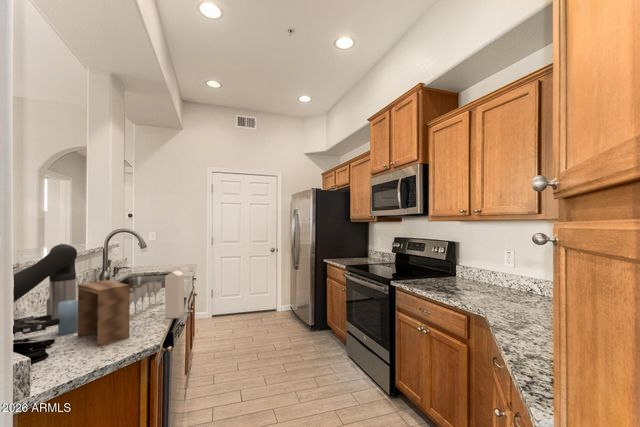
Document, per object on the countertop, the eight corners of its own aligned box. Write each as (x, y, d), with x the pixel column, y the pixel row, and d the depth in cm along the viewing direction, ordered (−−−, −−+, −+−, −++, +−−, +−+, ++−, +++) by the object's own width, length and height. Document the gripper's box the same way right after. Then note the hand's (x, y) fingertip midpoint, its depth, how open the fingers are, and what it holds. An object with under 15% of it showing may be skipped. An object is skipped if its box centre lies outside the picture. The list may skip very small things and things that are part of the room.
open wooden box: (98, 346, 105) (98, 290, 105) (77, 336, 115) (78, 284, 115) (129, 337, 113) (129, 284, 113) (107, 328, 123) (107, 280, 123)
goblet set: (130, 321, 132) (130, 290, 132) (117, 321, 132) (117, 290, 132) (163, 303, 160) (163, 278, 160) (152, 303, 160) (153, 278, 160)
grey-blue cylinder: (54, 336, 115) (55, 304, 115) (62, 330, 121) (63, 300, 121) (73, 334, 117) (74, 302, 117) (80, 328, 122) (80, 299, 123)
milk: (184, 314, 141) (184, 266, 141) (178, 318, 135) (179, 268, 135) (170, 314, 140) (171, 266, 141) (164, 318, 134) (165, 268, 135)
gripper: (-13, 338, 105) (48, 325, 119) (-2, 348, 97) (61, 333, 111) (-12, 317, 105) (49, 306, 119) (-1, 324, 98) (62, 312, 111)
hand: (55, 319), depth 115 cm, fingers open, 8 cm apart
